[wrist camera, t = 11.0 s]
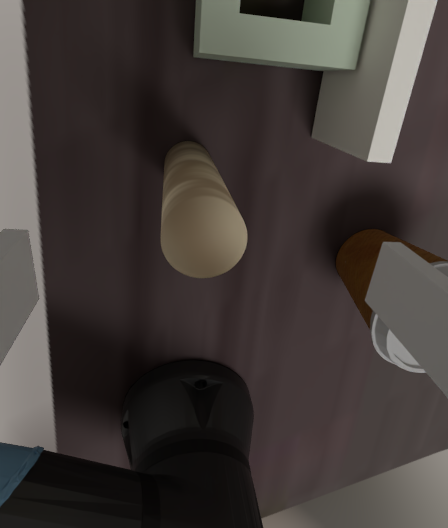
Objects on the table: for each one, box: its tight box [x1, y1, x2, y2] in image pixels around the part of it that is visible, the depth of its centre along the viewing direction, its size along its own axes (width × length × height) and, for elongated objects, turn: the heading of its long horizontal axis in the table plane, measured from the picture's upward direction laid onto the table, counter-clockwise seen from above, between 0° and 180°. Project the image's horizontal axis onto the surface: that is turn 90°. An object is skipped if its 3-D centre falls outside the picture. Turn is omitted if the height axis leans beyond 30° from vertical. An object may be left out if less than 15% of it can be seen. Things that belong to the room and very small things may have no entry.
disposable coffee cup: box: [336, 229, 448, 373], centre depth 32 cm, size 10×10×12 cm
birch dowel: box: [161, 141, 247, 278], centre depth 24 cm, size 4×4×16 cm
